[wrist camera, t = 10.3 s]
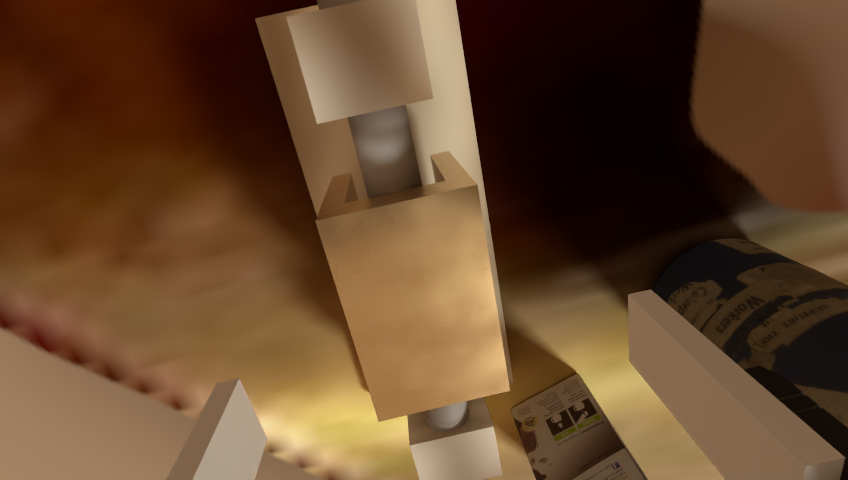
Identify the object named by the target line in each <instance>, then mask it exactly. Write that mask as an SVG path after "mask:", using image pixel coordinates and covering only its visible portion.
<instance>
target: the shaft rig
mask: <svg viewBox="0 0 848 480" xmlns="http://www.w3.org/2000/svg"><path fill="white" fill-rule="evenodd" d="M317 4H318V5H315V6H311V7H306V8H301V9H297V10H292V11H288V12H283V13H278V14H274V15H269V16H264V17H260V18H255V21H256V24H257V27H258V30H259V33H260V36H261V40H262V43H263V46H264V49H265V52H266V56H267V59H268V62H269V65H270V68H271V72H272V75H273V78H274V81H275V84H276V87H277V91H278V94H279V97H280V100H281V103H282V107H283V110H284V113H285V116H286V119H287V123H288V126H289V129H290V132H291V135H292V138H293V142H294V145H295V148H296V151H297V154H298V158H299V161H300V164H301V167H302V170H303V173H304V177H305V180H306V183H307V186H308V189H309V193H310V196H311V199H312V202H313V205H314V209H315V212H316V215H318V213H319V210H320V207H321V205H322V202H323V200H324V197H325V194H326V192H327V189H328V187H329V184H330V181H331V179H332V177H334V176H338V175H343V174H347V173H351V174H352V178H353V181H354V185H355V189H356V192H357V196H358V200H362V199H366V198H371V197H375V196H380V195H384V194H389V193H393V192H397V191H402V190H406V189H411V188H415V187H420V186H424V185H429V184H433V183H435V178H434V173H433V168H432V163H431V158H430V155H432V154H437V153H441V152H446V151H449V152H450V153H451V154H452V155H453V157H454V158H455V159H456V160H457V161H458V162H459V164H460V165H461V166H462V167H463V168H464V169H465V171H466V172H467V173H468V174H469V175H470V176H471V178H472V179H473V180H474V181H475V182H476V183H477V185H478V191H479V197H480V204H481V210H482V216H483V223H484V229H485V235H486V241H487V248H488V254H489V260H490V267H491V273H492V279H493V286H494V292H495V298H496V305H497V311H498V317H499V324H500V330H501V336H502V343H503V349H504V355H505V361H506V368H507V374H508V380H509V384H510V383H514V382H513V375H512V369H511V362H510V355H509V349H508V342H507V336H506V329H505V323H504V316H503V309H502V303H501V296H500V290H499V283H498V277H497V270H496V263H495V257H494V250H493V244H492V237H491V231H490V224H489V217H488V211H487V204H486V198H485V191H484V185H483V178H482V172H481V165H480V158H479V152H478V145H477V139H476V132H475V126H474V119H473V112H472V106H471V99H470V93H469V86H468V80H467V73H466V66H465V60H464V53H463V47H462V40H461V34H460V27H459V20H458V14H457V7H456V1H455V0H317ZM407 416H408V428H409V441H410V448H411V451H412V455H413V458H414V462H415V465H416V469H417V472H418V475H419V479H420V480H485V479H489V478H494V477H498V476H502V470H501V464H500V459H499V453H498V448H497V442H496V437H495V431H494V426H493V423H492V420H491V417H490V414H489V410H488V407H487V404H486V401H485V398H484V397H482V398H477V399H473V400H469V401H465V402H460V403H456V404H452V405H448V406H443V407H439V408H435V409H431V410H426V411H422V412H418V413H414V414H409V415H407Z"/></svg>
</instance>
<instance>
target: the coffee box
mask: <svg viewBox="0 0 848 480" xmlns="http://www.w3.org/2000/svg"><path fill="white" fill-rule="evenodd" d="M511 413H512V416H513V419H514V421H515V424H516V427H517V430H518V432H519V435H520V438H521V440H522V443H523V446H524V448H525V451H526V454H527V456H528V459H529V462H530V465H531V468H532V470H533V473H534V475H535V478H536V480H648V479H647V478H646V476H645V474H644V473H643V471H642V470H641V468H640V467H639V465H638V463H637V462H636V460H635V459H634V457H633V456H632V454H631V453H630V451H629V450H628V448H627V447H626V445H625V444H624V442H623V441H622V439H621V438H620V436H619V434H618V433H617V432H616V430H615V428H614V427H613V425H612V424H611V422H610V421H609V419H608V418H607V416H606V415H605V413H604V412H603V410H602V409H601V407H600V406H599V404H598V403H597V401H596V400H595V398H594V397H593V395H592V393H591V392H590V390H589V389H588V387H587V386H586V384H585V383H584V381H583V380H582V378H581V376H580V375H579V374H575V375H573V376H571V377H569V378H567V379H566V380H564V381H562V382H560V383H558V384H556V385H555V386H553V387H551V388H549V389H547V390H545V391H543V392H541V393H539V394H538V395H536V396H534V397H532V398H530V399H528V400H527V401H525V402H523V403H521V404H519V405H517V406H515V407H513V408H512V410H511Z"/></svg>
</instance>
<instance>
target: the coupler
mask: <svg viewBox="0 0 848 480" xmlns="http://www.w3.org/2000/svg"><path fill="white" fill-rule="evenodd" d="M430 158H431V163H432V168H433V173H434V178H435V183H433V184H429V185H424V186H420V187H415V188H411V189H406V190H402V191H397V192H393V193H389V194H384V195H380V196H375V197H371V198H366V199H362V200H358V196H357V192H356V189H355V185H354V181H353V178H352V174H351V173H347V174H343V175H338V176H334V177H332V179H331V181H330V184H329V187H328V189H327V192H326V194H325V197H324V200H323V202H322V205H321V207H320V210H319V213H318V215H317V218H316V220H315V222H316V225H317V228H318V232H319V235H320V238H321V241H322V244H323V247H324V251H325V254H326V257H327V260H328V263H329V266H330V269H331V273H332V276H333V279H334V282H335V285H336V288H337V291H338V295H339V298H340V301H341V304H342V307H343V310H344V314H345V317H346V320H347V323H348V326H349V329H350V332H351V336H352V339H353V342H354V345H355V348H356V351H357V354H358V358H359V361H360V364H361V367H362V370H363V373H364V376H365V380H366V383H367V386H368V389H369V392H370V395H371V399H372V402H373V405H374V408H375V411H376V414H377V417H378V421H379V422H380V421H384V420H388V419H392V418H397V417H401V416H405V415H409V414H414V413H418V412H422V411H426V410H431V409H435V408H439V407H443V406H448V405H452V404H456V403H460V402H465V401H469V400H473V399H477V398H482V397H486V396H490V395H494V394H499V393H503V392H507V391H510V387H509V380H508V374H507V368H506V361H505V355H504V349H503V343H502V336H501V330H500V324H499V317H498V311H497V305H496V298H495V292H494V286H493V279H492V273H491V267H490V260H489V254H488V248H487V241H486V235H485V229H484V223H483V216H482V210H481V204H480V197H479V191H478V185H477V183H476V182H475V181H474V180H473V179H472V178H471V176H470V175H469V174H468V173H467V172H466V171H465V169H464V168H463V167H462V166H461V165H460V164H459V162H458V161H457V160H456V159H455V158H454V157H453V155H452V154H451V153H450V152H449V151H446V152H441V153H437V154H432V155H430Z"/></svg>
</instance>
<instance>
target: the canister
mask: <svg viewBox="0 0 848 480" xmlns="http://www.w3.org/2000/svg"><path fill="white" fill-rule="evenodd" d="M653 292H654V293H655V294H657V295H658V296H659V297H660V298H661V299H662V300H664V301H665V302H666V303H667V304H668V305H669V306H670V307H672V308H673V309H674V310H675V311H676V312H677V313H679V314H680V315H681V316H682V317H683V318H684V319H685V320H687V321H688V322H689V323H690V324H691V325H692V326H694V327H695V328H696V329H697V330H698V331H699V332H700V333H702V334H703V335H704V336H705V337H706V338H707V339H709V340H710V341H711V342H712V343H713V344H714V345H716V346H717V347H718V348H719V349H720V350H721V351H722V352H724V353H725V354H726V355H727V356H728V357H729V358H731V359H732V360H733V361H734V362H735V363H736V364H737V365H739V366H740V367H741V368H742V369H747V368H751V367H756V366H762V367H764V368H766V369H768V370H770V371H772V372H774V373H777V374H779V375H781V376H783V377H784V378H786V379H787V380H788V381H790V382H791V383H792V384H793V385H795V386H796V387H797V388H798V389H800V390H801V391H802V392H803V394H804V395H807V396H808V397H810V398H811V399H812V400H813V401H815V402H816V403H817V404H818V405H819V407H820V408H823V409H825V410H826V411H827V412H828V413H830V414H831V415H832V416H834V417H835V418H836V419H837V420H839V421H840V422H841V423H842V424H844V425H845V426H846V427H847V428H848V285H846V284H844V283H842V282H839V281H837V280H835V279H833V278H831V277H829V276H827V275H825V274H823V273H821V272H819V271H817V270H815V269H812V268H810V267H807V266H805V265H802V264H800V263H798V262H796V261H793V260H791V259H789V258H787V257H784V256H782V255H780V254H778V253H776V252H774V251H772V250H770V249H767V248H765V247H763V246H761V245H759V244H756V243H754V242H750V241H747V240H742V239H719V240H714V241H710V242H707V243H704V244H700V245H698V246H696V247H694V248H692V249H690V250H688V251H687V252H685V253H684V254H682V255H681V256H679V257H678V258H677V259H676V260H675V261H674V262H673V263H672V264H670V266H669V267H668V268H667V269H666V270H665V271H664V272H663V274H662V275H661V277H660V278H659V280H658V281H657V283H656V285H655V287H654V289H653Z"/></svg>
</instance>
